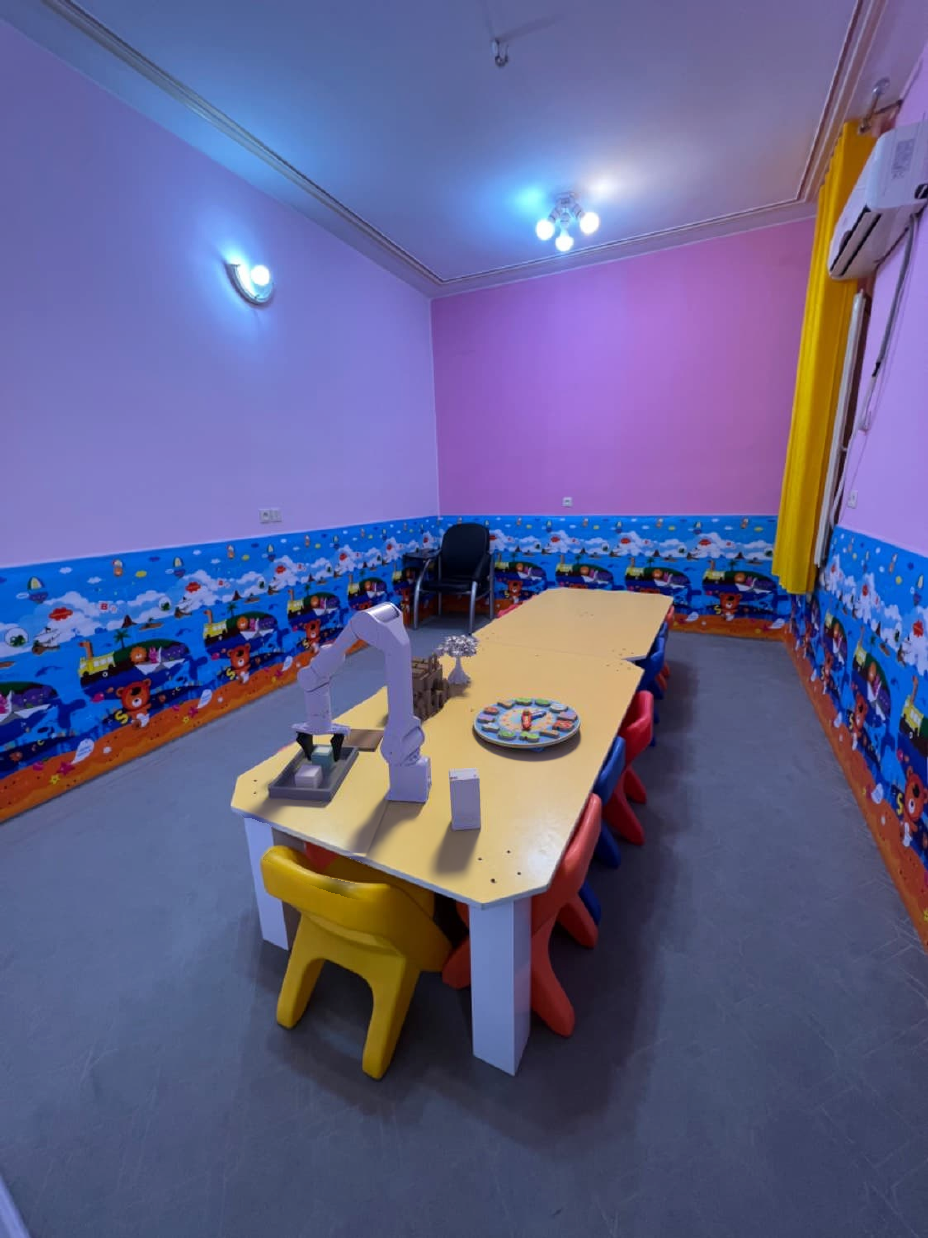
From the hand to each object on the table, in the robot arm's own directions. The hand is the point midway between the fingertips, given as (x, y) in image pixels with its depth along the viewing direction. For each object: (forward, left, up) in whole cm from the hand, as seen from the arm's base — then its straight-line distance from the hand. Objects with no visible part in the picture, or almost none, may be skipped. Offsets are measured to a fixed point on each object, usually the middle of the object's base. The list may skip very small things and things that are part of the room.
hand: (324, 759), depth 123 cm
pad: (-6, -12, -2) cm, 14 cm away
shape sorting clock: (-51, -24, -2) cm, 57 cm away
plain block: (0, +9, -1) cm, 9 cm away
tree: (-27, -58, -2) cm, 64 cm away
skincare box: (-38, +19, -2) cm, 42 cm away
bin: (0, +5, -2) cm, 5 cm away
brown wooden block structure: (-18, -37, -2) cm, 41 cm away
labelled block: (0, 0, -1) cm, 1 cm away
